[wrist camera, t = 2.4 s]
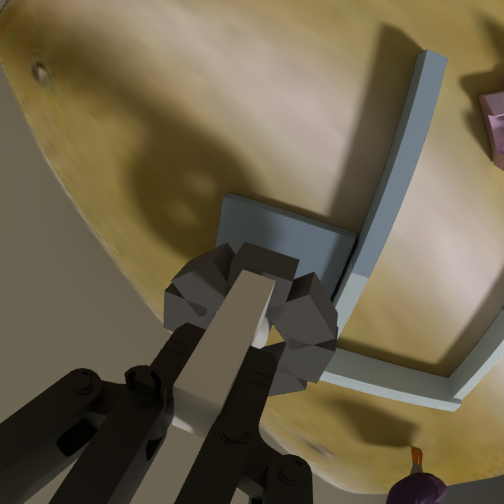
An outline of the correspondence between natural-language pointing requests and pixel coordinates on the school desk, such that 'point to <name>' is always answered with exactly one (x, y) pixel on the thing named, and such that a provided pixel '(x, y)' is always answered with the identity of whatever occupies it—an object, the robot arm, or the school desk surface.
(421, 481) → the toy
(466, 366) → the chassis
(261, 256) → the wheel
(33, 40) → the school desk surface
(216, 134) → the school desk surface
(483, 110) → the letters
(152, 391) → the robot arm
